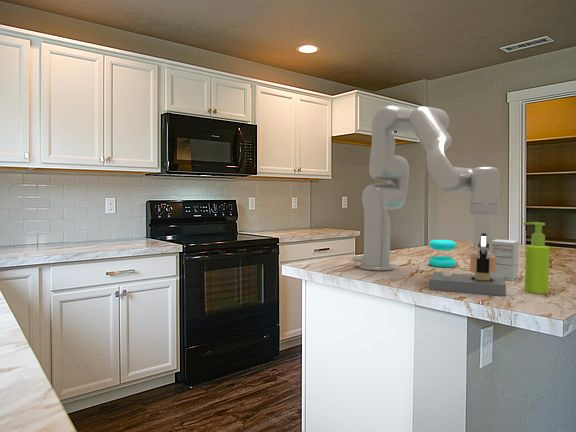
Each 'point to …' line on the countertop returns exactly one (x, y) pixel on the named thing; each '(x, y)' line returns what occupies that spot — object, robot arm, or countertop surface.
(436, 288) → the socket
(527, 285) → the soap dispenser
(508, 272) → the supplement box
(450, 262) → the donuts
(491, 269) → the plug
